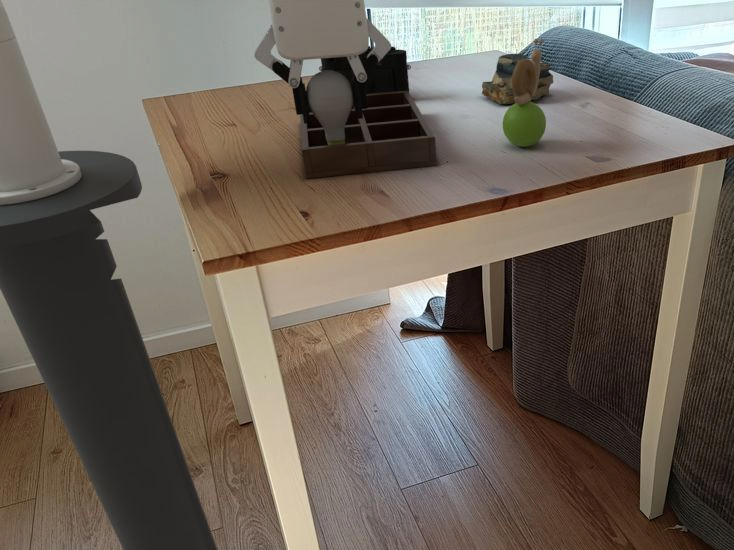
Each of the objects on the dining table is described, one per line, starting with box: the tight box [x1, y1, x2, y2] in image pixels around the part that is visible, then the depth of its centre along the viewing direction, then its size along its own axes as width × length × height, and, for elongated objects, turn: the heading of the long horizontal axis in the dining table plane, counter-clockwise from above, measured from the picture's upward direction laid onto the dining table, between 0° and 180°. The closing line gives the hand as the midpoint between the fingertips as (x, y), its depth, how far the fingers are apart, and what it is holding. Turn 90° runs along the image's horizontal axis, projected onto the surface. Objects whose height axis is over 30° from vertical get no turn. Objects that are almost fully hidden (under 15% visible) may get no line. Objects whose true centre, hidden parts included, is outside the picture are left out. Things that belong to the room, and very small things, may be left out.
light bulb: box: [305, 70, 354, 145], centre depth 81 cm, size 6×6×10 cm
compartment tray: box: [299, 91, 438, 179], centre depth 89 cm, size 15×23×3 cm
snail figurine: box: [502, 38, 547, 148], centre depth 85 cm, size 5×6×12 cm
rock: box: [481, 53, 554, 105], centre depth 105 cm, size 9×9×6 cm
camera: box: [318, 45, 412, 94], centre depth 107 cm, size 14×7×8 cm, turn 86°
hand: (332, 116), depth 81 cm, fingers closed on light bulb, 5 cm apart
